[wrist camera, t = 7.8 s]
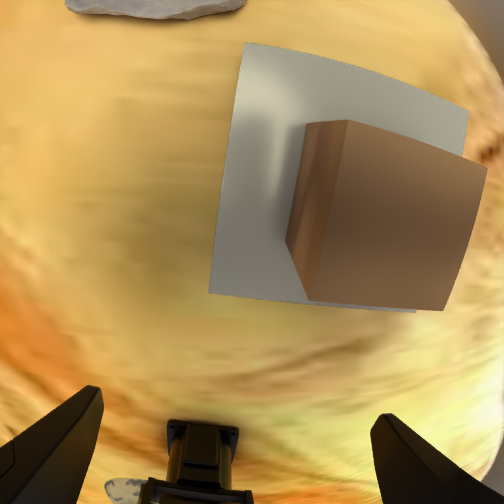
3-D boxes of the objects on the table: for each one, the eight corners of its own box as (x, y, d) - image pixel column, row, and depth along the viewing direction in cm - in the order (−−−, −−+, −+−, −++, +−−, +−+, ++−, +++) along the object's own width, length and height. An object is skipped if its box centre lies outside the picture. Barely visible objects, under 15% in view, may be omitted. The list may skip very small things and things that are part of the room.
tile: (397, 291, 21) (415, 312, 18) (212, 270, 20) (208, 293, 17) (441, 111, 17) (469, 111, 14) (243, 56, 15) (244, 42, 13)
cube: (387, 256, 17) (443, 311, 11) (284, 241, 16) (308, 300, 11) (413, 151, 15) (487, 168, 9) (306, 123, 14) (348, 119, 9)
